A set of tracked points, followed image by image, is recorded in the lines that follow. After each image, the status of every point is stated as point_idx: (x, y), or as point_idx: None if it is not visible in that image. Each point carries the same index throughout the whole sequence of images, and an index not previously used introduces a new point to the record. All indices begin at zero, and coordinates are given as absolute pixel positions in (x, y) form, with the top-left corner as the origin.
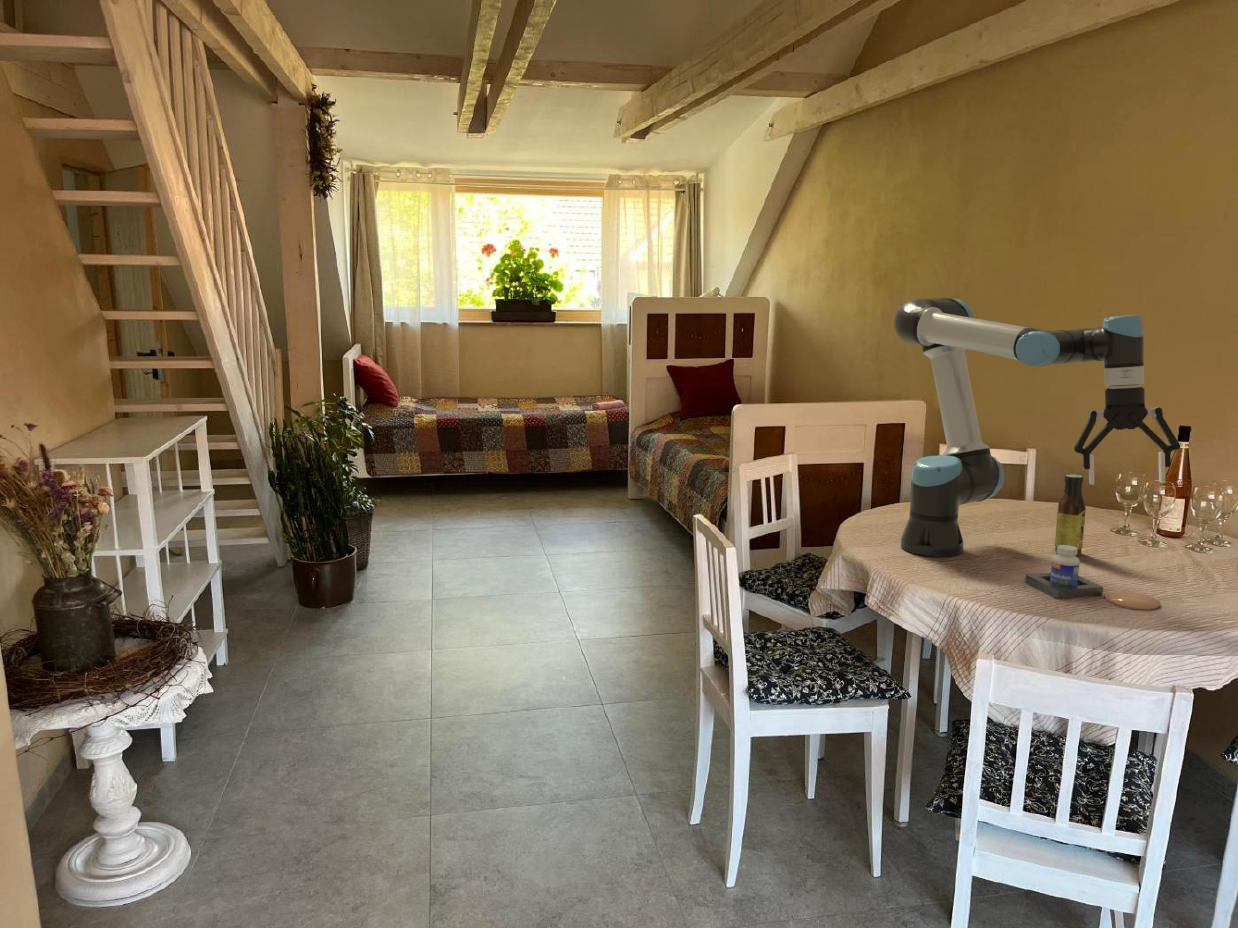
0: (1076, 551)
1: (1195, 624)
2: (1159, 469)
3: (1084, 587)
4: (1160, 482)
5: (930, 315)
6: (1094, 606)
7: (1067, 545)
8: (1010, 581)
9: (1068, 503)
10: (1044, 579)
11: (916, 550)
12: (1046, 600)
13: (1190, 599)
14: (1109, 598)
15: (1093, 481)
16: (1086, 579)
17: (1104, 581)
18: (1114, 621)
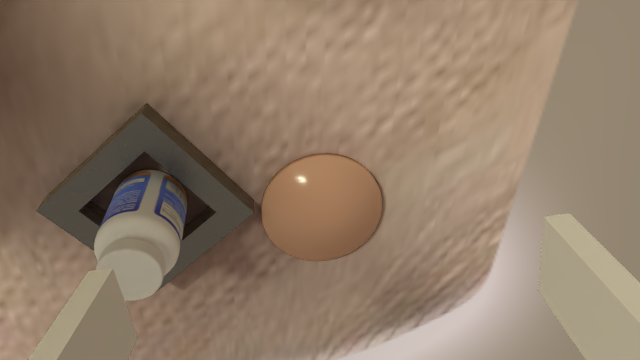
0: (163, 277)
1: (434, 279)
2: (588, 302)
3: (209, 239)
4: (540, 266)
5: None
6: (242, 278)
7: (124, 255)
8: (5, 202)
9: None
10: (98, 227)
11: None
12: None
13: (460, 120)
14: (271, 235)
15: (125, 355)
16: (204, 170)
17: (249, 67)
18: (286, 337)
